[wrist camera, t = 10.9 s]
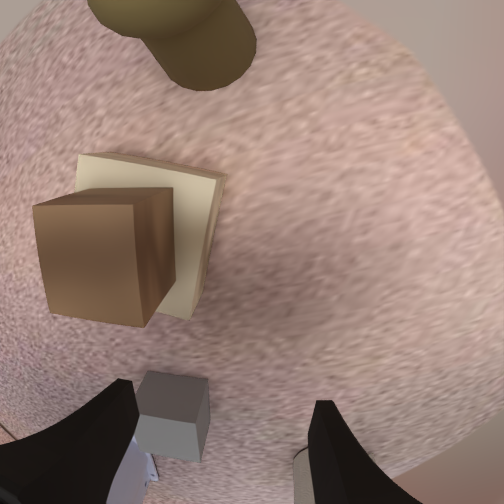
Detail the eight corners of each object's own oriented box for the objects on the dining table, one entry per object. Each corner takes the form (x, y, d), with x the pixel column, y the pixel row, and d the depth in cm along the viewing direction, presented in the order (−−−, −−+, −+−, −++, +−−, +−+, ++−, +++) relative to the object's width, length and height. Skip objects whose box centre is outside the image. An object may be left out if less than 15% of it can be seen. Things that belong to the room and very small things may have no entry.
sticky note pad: (203, 291, 22) (189, 320, 18) (99, 262, 21) (70, 284, 18) (227, 173, 19) (216, 179, 15) (111, 151, 19) (79, 154, 15)
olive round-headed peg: (143, 70, 17) (32, 17, 6) (191, -5, 15) (127, -104, 5) (225, 107, 17) (166, 56, 7) (274, 28, 16) (275, -84, 5)
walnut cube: (176, 280, 17) (143, 328, 12) (97, 273, 17) (50, 312, 12) (173, 187, 15) (132, 204, 11) (89, 188, 16) (32, 205, 11)
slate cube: (210, 419, 25) (200, 462, 20) (156, 411, 25) (139, 451, 21) (208, 378, 24) (195, 423, 19) (148, 370, 24) (126, 411, 19)
